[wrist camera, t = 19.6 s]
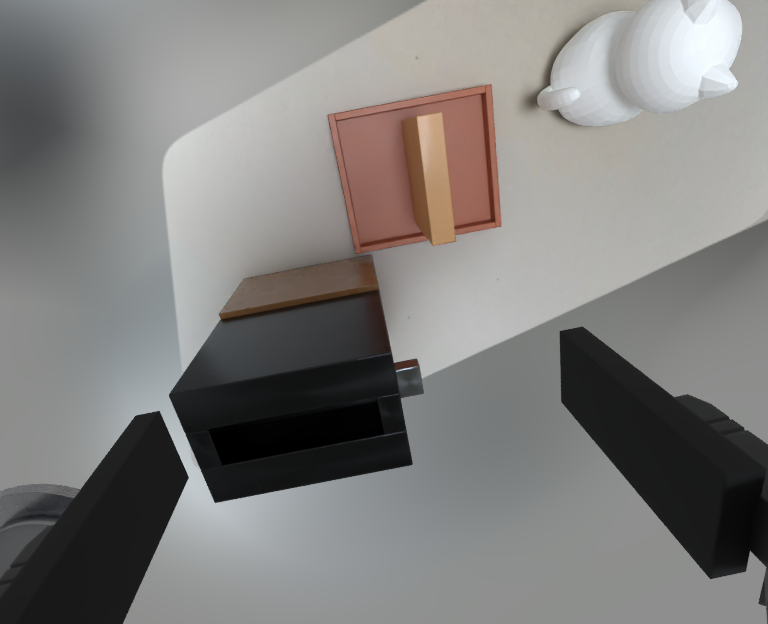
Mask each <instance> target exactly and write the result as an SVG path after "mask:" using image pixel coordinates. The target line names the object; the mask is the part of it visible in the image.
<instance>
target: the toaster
mask: <svg viewBox="0 0 768 624" xmlns="http://www.w3.org/2000/svg"><path fill="white" fill-rule="evenodd" d="M219 316H220V318H221V320H220V321H219V323H218V324H217V326H216V327H215V329H214V330H213V331H212V333H211V334H210V336H209V337H208V339H207V340H206V342H205V343H204V344H203V346H202V347H201V349H200V350H199V352H198V353H197V355H196V356H195V358H194V359H193V360H192V362H191V363H190V365H189V366H188V368H187V369H186V371H185V372H184V374H183V375H182V376H181V378H180V379H179V381H178V382H177V384H176V385H175V387H174V388H173V390H172V391H171V393H170V394H169V397H170V399H171V402H172V404H173V406H174V408H175V411H176V413H177V416H178V418H179V420H180V423H181V425H182V427H183V430H184V432H185V433H186V437H187V439H188V441H189V444H190V446H191V448H192V451H193V453H194V455H195V458H196V460H197V462H198V465H199V467H200V469H201V472H202V474H203V476H204V479H205V481H206V483H207V486H208V488H209V490H210V493H211V495H212V497H213V499H214V502H215V503H217V502H222V501H228V500H233V499H238V498H243V497H248V496H254V495H259V494H264V493H269V492H274V491H279V490H285V489H290V488H295V487H300V486H306V485H310V484H316V483H321V482H326V481H332V480H336V479H342V478H347V477H352V476H357V475H363V474H367V473H373V472H378V471H383V470H388V469H394V468H399V467H404V466H409V465H412V464H413V463H412V457H411V452H410V447H409V442H408V436H407V431H406V426H405V420H404V415H403V410H402V404H401V399H400V398H404V397H409V396H414V395H419V394H423V393H424V391H423V385H422V378H421V372H420V366H419V363H418V360H417V359H412V360H407V361H401V362H396V363H394V361H393V356H392V351H391V346H390V341H389V336H388V331H387V326H386V321H385V317H384V312H383V307H382V302H381V297H380V292H379V287H378V282H377V277H376V272H375V267H374V262H373V257H372V255H367V256H362V257H357V258H351V259H346V260H341V261H336V262H330V263H325V264H320V265H314V266H309V267H304V268H299V269H293V270H288V271H283V272H277V273H272V274H267V275H262V276H256V277H251V278H246V279H244V280H243V281H242V283H241V284H240V285H239V287H238V288H237V290H236V291H235V292H234V294H233V295H232V296H231V298H230V299H229V301H228V302H227V303H226V305H225V306H224V308H223V309H222V310H221V312H220V313H219Z"/></svg>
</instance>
